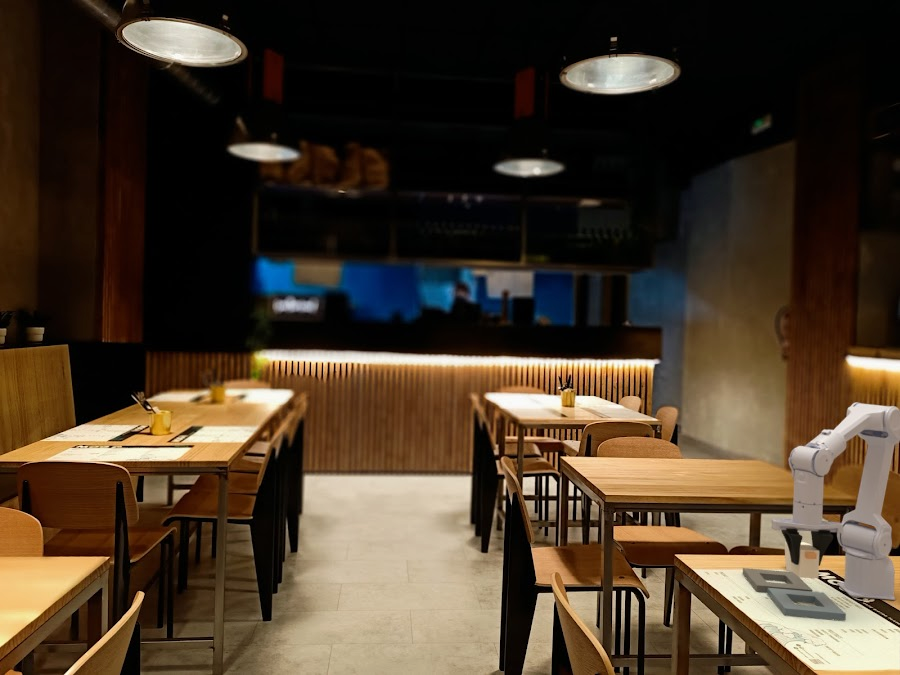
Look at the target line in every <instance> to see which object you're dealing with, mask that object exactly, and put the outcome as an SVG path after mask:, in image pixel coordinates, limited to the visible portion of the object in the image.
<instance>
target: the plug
mask: <svg viewBox="0 0 900 675" xmlns="http://www.w3.org/2000/svg"><path fill="white" fill-rule="evenodd" d="M819 569H820V566H819V550H817V549H816V548H814V547H813V546H811V545H800V558H799V565H795V564H794V563H792V562H791V571H792V572H793V573H794V574H796V575H797V576H798V577H800V578H801V579H803V578H804V579H806V578H807V579H819V572H820V571H819Z"/></svg>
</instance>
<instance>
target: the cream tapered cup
mask: <svg viewBox="0 0 900 675" xmlns="http://www.w3.org/2000/svg"><path fill="white" fill-rule="evenodd" d="M801 545H811V546H812V543H809V542H807V541H801ZM784 557H785V570H786V571H787V570H788V571H789V572H792V571H791V556H790V552H789V548H788V545H787V542H786V540H784ZM788 571H787V572H788Z"/></svg>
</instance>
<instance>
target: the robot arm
mask: <svg viewBox="0 0 900 675" xmlns="http://www.w3.org/2000/svg"><path fill="white" fill-rule="evenodd" d="M855 436H858V437H859V438H861V439H863V440H864V441H865V442H866V444H867V450H866V454H865V458H864V459H865V460H864V463H863V464H864V465H863V470H862V475H861V479H860V485H859V490H858V493H857V500H856V504H855V509H854V510H851V511H850V512H847V513H845V514H844V515H843V518H842V521H841V522H837V521H828V520H827V521H826V520H823V508H824V507H823V506H824V504H823V502H824V481H825V480H824V479H825V475H828V473H829V471H830V470H831V466H832V465H833V464H834V460H835V459H836V458H837V457H838V456H840V455H841V454H842V453H843V452H844V451H845V450H846V449H847V442H848V441H850V440H852V439H853V438H854V437H855ZM899 443H900V408H898V407H897V406H894V405H891V406H890V405H877V404H871V403H870V404H868V403H862V402H859V401H858V402H853V403H852V404H851V405H850V406H849V407H848V408H847V409H846V417H844V419H842V421H841V422H840V423H839V424H838V425H836V427H835V428H834V429H823V430H821V432H820V433H819V434H818V435H817V436H816V437H814V438H813V439H812V440H810V441H809V442H808V443H807V444H806V445H798V446H797V447H795V448H793V449H792V450H791V452H790V455H789V457H788V465H789V468H790V469H791V477H792V479H793V500H792V502H793V504H792V518H781V519H779V518H778V519H776V518H775V519H771V529H773V530H774V531H781V534H782V535H783V538H784V541H786V542H787V545H788V548H789V552H790V556H791V562H792V563H794V564H795V565H799V558H800V545H801V541H802V540H803V536H802V535H801V534H800V532H799V531H801V532H810V534H811V544H812V546H813V547H814V548H816V549H817V550H819V567H820V566H821V563H822V560H823V558H824V555H825V552H826V551H827V549H828V547H829V546H830V544H831V543H832V542H833V540H834V535H833V534H832V533H836V537H837V542H838V544H839V546H841V547H842V551H843V552H845V562H844V582H839V581H838V582H837V585H838V587H840V588H841V589H842V590H844V591H845V592H846V593H847V594H848V595H849V596H850V597H857V598H865V599H866V598H868V599H869V598H870V599H880V600H891V601H896V597H895V594H894V593H895V565H894V562H893V560H892V559H891V558H890V557H889V556H888V555H889V554H890V552H891V550H892V546H893V543H892V542H893V541H892V526H891V525H890V524H889V523H888V522H887V520H886V519H884V518H883V517H882V511H883V505H884V501H885V500H884V499H885V495H886V491H887V490H886V489H887V485H888V480H889V474H890V470H891V463H892V460H893V459H892V458H893V454H894V449H895V445H897V444H899ZM862 524H865V525H862ZM866 525H868V526H866ZM870 526H873V527H874V528H873V527H870Z"/></svg>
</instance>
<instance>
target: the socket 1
mask: <svg viewBox="0 0 900 675" xmlns="http://www.w3.org/2000/svg"><path fill="white" fill-rule="evenodd" d="M742 575H743V577H744V578H745V577H746V578H745V579H746V580H747V581H748V583H749V584H750V585H751V586H752V588H753V589H754V590H755V592H757V593H765V594H767V588H777V589H788V590H800V591H811V592H813V589H812V588H811V587H810V586H809V585H808V584H807V583H806V582H805V581H804V580H803V578H801V577H798V576H797V575H796V574H794V573H793V572H788V571H785V570H784V571H782V570H773V569H772V570H771V569H762V568H761V569H759V568H747V567H742ZM773 580H775V581H776V582H772V581H773ZM781 582H782V583H781ZM783 582H785V583H783Z"/></svg>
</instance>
